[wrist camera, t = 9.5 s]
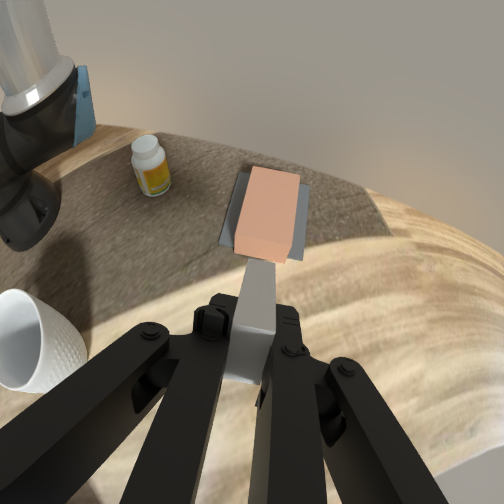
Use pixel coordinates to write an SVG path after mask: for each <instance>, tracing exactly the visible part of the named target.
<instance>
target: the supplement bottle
mask: <svg viewBox="0 0 504 504" xmlns="http://www.w3.org/2000/svg"><path fill="white" fill-rule="evenodd" d="M131 148H132V152H133V155H132V158H131V163H132V166H133V169H134V172H135V175H136V178H137V180H138V183H139V186H140V188H141V191H142V192H143V193H144V194H145V195H147V196H150V197H155V196H159V195H161V194H163V193H165V192H166V191H167V190H168V189H169V187H170V185H171V177H170V173H169V168H168V164H167V159H166V155H165V151H164V149H163V148H162V147H161V146H159V143H158V139H157V137H156V136H154V135H144V136H141V137H139V138H137V139H136V140H135V141H134V142H133V143H132V146H131Z"/></svg>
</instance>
